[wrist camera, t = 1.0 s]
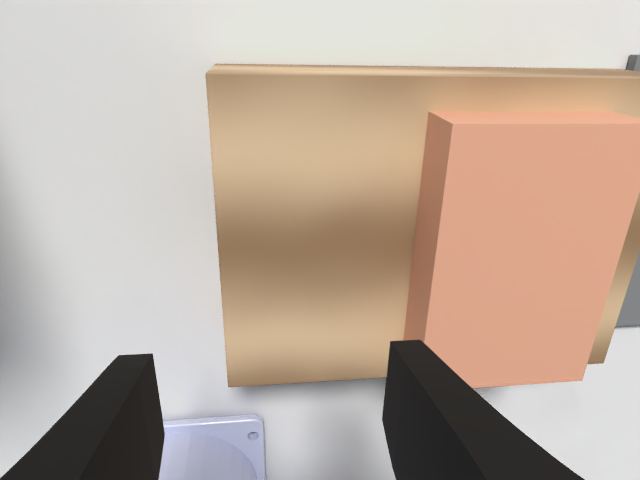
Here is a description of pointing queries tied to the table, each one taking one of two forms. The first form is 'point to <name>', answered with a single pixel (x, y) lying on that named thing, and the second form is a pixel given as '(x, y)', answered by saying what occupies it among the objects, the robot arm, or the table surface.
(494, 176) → the block
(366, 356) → the deck
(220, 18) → the table surface
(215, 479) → the robot arm
